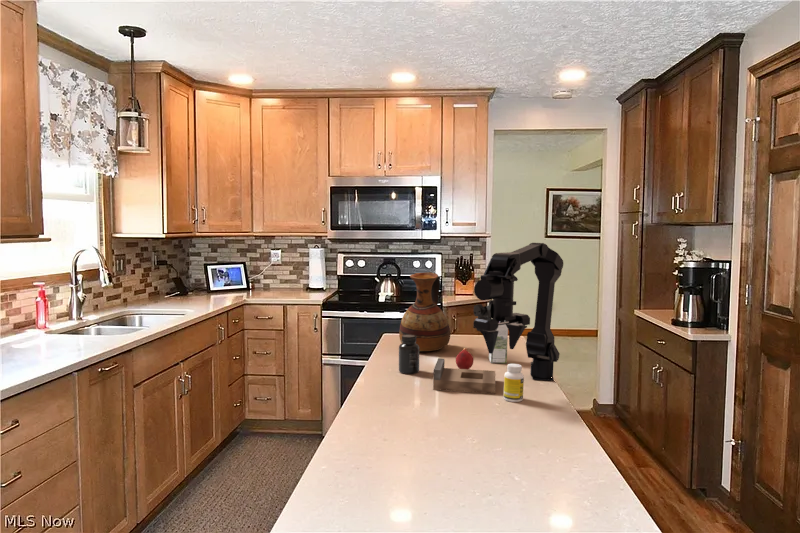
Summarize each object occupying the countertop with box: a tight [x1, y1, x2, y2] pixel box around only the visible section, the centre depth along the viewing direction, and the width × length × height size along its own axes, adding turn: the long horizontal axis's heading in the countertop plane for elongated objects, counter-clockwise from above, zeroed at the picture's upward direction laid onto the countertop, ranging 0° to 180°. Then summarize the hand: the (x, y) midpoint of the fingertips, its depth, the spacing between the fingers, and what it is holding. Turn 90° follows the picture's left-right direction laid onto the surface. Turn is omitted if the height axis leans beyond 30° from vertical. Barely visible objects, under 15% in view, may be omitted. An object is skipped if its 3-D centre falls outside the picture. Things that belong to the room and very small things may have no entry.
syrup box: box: [488, 324, 509, 364], centre depth 198 cm, size 6×6×14 cm
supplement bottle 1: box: [398, 335, 420, 375], centre depth 183 cm, size 7×7×12 cm
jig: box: [432, 357, 496, 395], centre depth 170 cm, size 18×14×6 cm
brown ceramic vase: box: [398, 271, 451, 352], centre depth 216 cm, size 20×20×30 cm
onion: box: [455, 347, 474, 369], centre depth 184 cm, size 6×6×8 cm
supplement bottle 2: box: [502, 363, 525, 403], centre depth 156 cm, size 5×5×10 cm
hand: (501, 351), depth 160 cm, fingers open, 9 cm apart
